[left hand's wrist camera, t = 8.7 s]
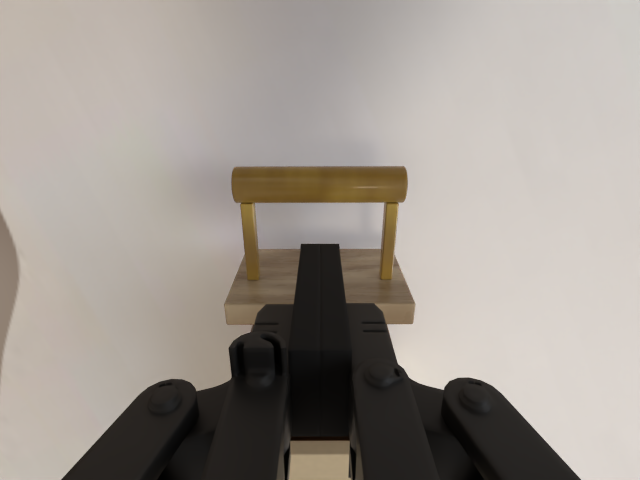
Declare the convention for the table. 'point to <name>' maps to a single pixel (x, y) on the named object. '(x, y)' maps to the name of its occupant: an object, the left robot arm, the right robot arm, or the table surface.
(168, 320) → the table surface
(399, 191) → the drawer
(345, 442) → the wooden box
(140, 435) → the left robot arm
